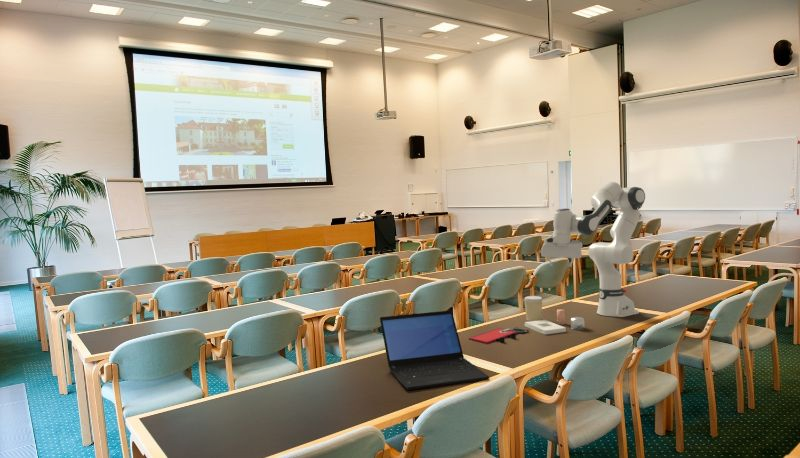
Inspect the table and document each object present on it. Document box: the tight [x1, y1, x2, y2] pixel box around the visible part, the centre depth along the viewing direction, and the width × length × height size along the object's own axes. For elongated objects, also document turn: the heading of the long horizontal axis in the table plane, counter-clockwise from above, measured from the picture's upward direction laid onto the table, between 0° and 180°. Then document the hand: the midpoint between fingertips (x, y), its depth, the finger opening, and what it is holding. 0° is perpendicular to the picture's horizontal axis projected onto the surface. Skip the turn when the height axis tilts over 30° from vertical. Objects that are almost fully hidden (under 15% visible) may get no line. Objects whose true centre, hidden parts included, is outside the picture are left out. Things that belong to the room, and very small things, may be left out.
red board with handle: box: [468, 327, 530, 345], centre depth 264 cm, size 30×3×15 cm
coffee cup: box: [524, 295, 543, 322], centre depth 292 cm, size 9×9×12 cm
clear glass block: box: [570, 316, 585, 331], centre depth 273 cm, size 6×6×5 cm
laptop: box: [379, 310, 490, 391], centre depth 219 cm, size 33×38×19 cm
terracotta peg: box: [556, 308, 566, 326], centre depth 282 cm, size 4×4×7 cm
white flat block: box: [524, 319, 567, 336], centre depth 274 cm, size 12×18×2 cm, turn 18°
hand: (560, 266), depth 284 cm, fingers open, 8 cm apart
